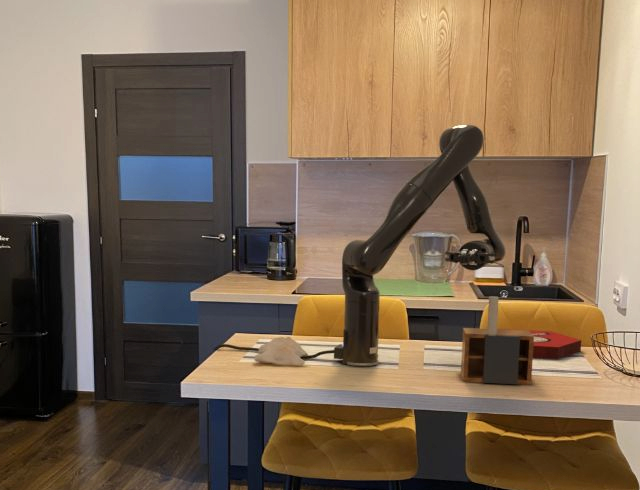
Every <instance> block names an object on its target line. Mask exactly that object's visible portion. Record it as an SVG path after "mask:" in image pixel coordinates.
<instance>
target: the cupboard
mask: <svg viewBox="0 0 640 490" xmlns="http://www.w3.org/2000/svg"><path fill="white" fill-rule="evenodd" d="M505 329H506V328H497V334H496V335H507V336H520V347H519V364H518V381H517V384H516V385H527V386H531V385H532V376H533V359H534V358H533V345H534V336H533V335H532V334H531V333H530V332H529V330H530V329H517V330H505ZM485 335H488V334H487V328H477V327H474V328H473V327H463V328H462V341H461V363H460V375H461V379H462V382H466V383H483V367H484V348H485Z"/></svg>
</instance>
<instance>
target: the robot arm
mask: <svg viewBox="0 0 640 490" xmlns="http://www.w3.org/2000/svg"><path fill="white" fill-rule="evenodd" d="M484 142H485V138H484V133H483V131H482V129H481V128H479V127H478V126H476V125H473V124H463V125H462V124H461V125H457V126H451V127H448V128H445V129H444V131H442V132H441V134H440V136H439V140H438V146H439V151H440V155H439V156H438V157H436V159H435V160H434V161H432V162H431V163H430V164H428V165H427V166H425V167H424V168H422V169H421V170H420V171H418V172H417V173H415V174H414V175H413V176H412V177H411V178H410V179H408V181H406V182H405V184H404V185H403V186H402V187H401V188H400V190H399V191H398V192H397V193H396V194H395V196H394V197H393V198H392V201H391V203H390V205H389V208H388V211H387V214H386V216H385V219H384V221H383V222H382V224H381V225H380V227H378V229H376V231H375V232H374V233H373V234H372V235H371V236H370V237H369V238H368V239H367V240H366V239H354V240H352V241H350V242H349V243H347V244H346V246H345V247H344V250H343V253H342V258H341V279H342V280H341V281H342V289H343V290H342V291H343V292H344V320H343V321H344V322H343V323H344V326H343V331H342V333H343V335H342V341H343V342H342V343H340V344H338V345H336V346H335V347H334V348H333V349H329V350H322V351H319V352H316V353H314V354H311V355H309V354H308V356H307V357H300V358H301V359H302V360H310V359H316V358H317V357H319V356H323V355H328V354H329V355H330V354H333V359H335V360H342V365H348V366H352V367H372V366H376V365H378V364H379V335H380V334H379V331H380V328H379V327H380V298H381V297H380V296H381V295H380V294H381V293H380V290H379V288H378V287H377V286H376V284H375V281H374V276H375V275H377V274H379V273H380V272H381V271H382V270H383V269H384V268H385V266H386V265H387V264H388V262H389V260H390V259H391V258H392V256H393V255H394V254H395V252H396V250H397V249H398V247H399V246H400V244H401V243H402V241H403V240H404V239H405V238H406V237H407V236H408V235H409V233H410V232H411V231H412V230H413V228H415V226H416V225H417V224H418V222H420V221H421V219H422V218H423V217H424V216H425V214H426V213H427V212H428V211H429V210H430V209H431V208H432V207H433V205H434V204H435V202H436V201H437V200H438V198H439V197H441V195H443V193H444V191H446V189H447V188H448V187H449V185H450V184H452V183H453V185H454V188H455V190H456V192H457V193H456V194H457V195H458V198H459V202H460V205H461V209H462V213H463V217H464V220H465V221H464V222H465V226H466V229H467V231H468V232H469V234H477V235H484V236H486V237H487V238H483V239H479V240H478V239H477V240H471V241H468V242H466V243H464V244H463V245H461V247H460V248H459V250H458V251H450V250H445V252H444V261H445V262H449V263H455V264H460V266H461V267H462V268H464V269H465V270H467V271H478V270H480V269H482V268H484V267H486V266H487V265H488V264H492V265H493V264H495V263H498V262H501V261H503V260H504V259H505V257H506V254H507V249H506V245H505V244H504V242H503V240H502V239H501V237H500V235H499V233H498V232H497V229H496V227H495V225H494V223H493V220H492V216H491V215H492V214H491V211H490V208H489V204H488V200H487V198H486V195H485V193H484V192H483V189H482V188H481V187H480V185H479V184H478V182H477V181H476V179H475V177H474V175H473V172H472V171H471V168H470V167H471V166H470V163H471V162H472V161H473V160H474V159H475V158H477V156H479V154H480V152H481V151H482V149H483V146H484ZM221 348H228V349H233V350H238V351H251V352H252V351H253V352H258V350H259V348H260V347H247V346H237V345H234V344H233V345H232V344H227V343H222V344H218V345H217V346H215V347H214V348H213V351H218V350H219V349H221ZM208 402H209V400H206V457H207V459H206V463H207V490H211V480H210V481H209V412H208Z"/></svg>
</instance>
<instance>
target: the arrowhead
mask: <svg viewBox="0 0 640 490" xmlns="http://www.w3.org/2000/svg"><path fill="white" fill-rule="evenodd" d="M258 348H259V350H258V351H257V354H256V355H255V356H254V362H256V363H267V364H272V365H278V366H296V367H297V366H298V367H299V366H304V365H305V359H301V358H300V357H307V356H309V354H308V353H307V352H306V350H305V349H303V348H302V346H301V344H300V343H299V342H297V341H296V340H295V339H293V338H291V336H287V337H284V336H278V337H274V338H273V339H271V340H270V341H269V342H266V343H264V344H262V345H260V346H259V347H258Z"/></svg>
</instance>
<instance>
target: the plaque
mask: <svg viewBox="0 0 640 490" xmlns="http://www.w3.org/2000/svg"><path fill="white" fill-rule="evenodd" d="M504 329H505V330H518V328H517V329H515V328H514V329H513V328H504ZM528 330H529V332H530V333H531V334H532V335H533V336H534V345H533V359H544V360H560V359H563V358H566V357H569V356H573V355H576V354H579V353H581V352H582V339H579V338H575V337H572V336H570V335H569V336H568V335H565V334H561V333H559V332H555V331H551V330H534V329H528Z"/></svg>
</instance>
